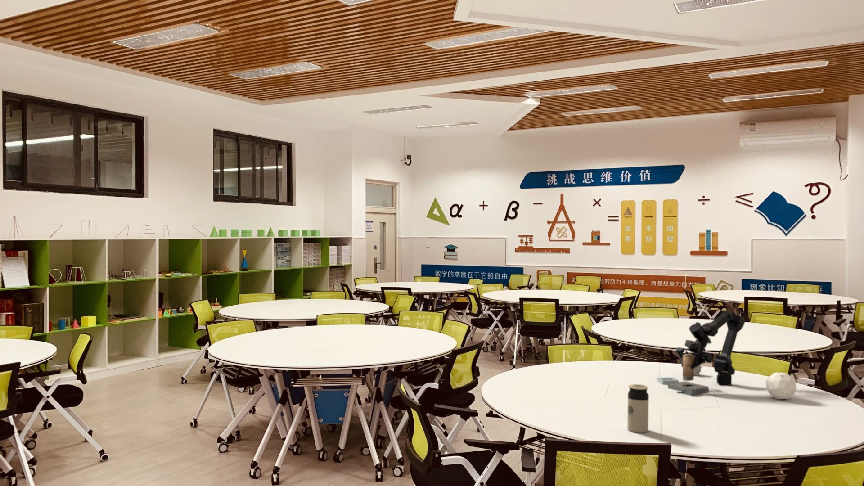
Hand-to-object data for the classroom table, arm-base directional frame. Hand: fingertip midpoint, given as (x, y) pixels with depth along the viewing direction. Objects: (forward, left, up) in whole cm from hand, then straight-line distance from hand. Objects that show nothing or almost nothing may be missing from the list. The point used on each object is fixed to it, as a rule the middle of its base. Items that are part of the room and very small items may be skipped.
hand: (686, 367), depth 323 cm
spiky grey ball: (-15, -43, -13) cm, 48 cm away
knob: (-1, -1, -7) cm, 7 cm away
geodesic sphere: (-43, +7, -13) cm, 45 cm away
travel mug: (+37, +74, -13) cm, 83 cm away
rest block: (+6, -15, -12) cm, 20 cm away
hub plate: (-1, -1, -12) cm, 13 cm away
